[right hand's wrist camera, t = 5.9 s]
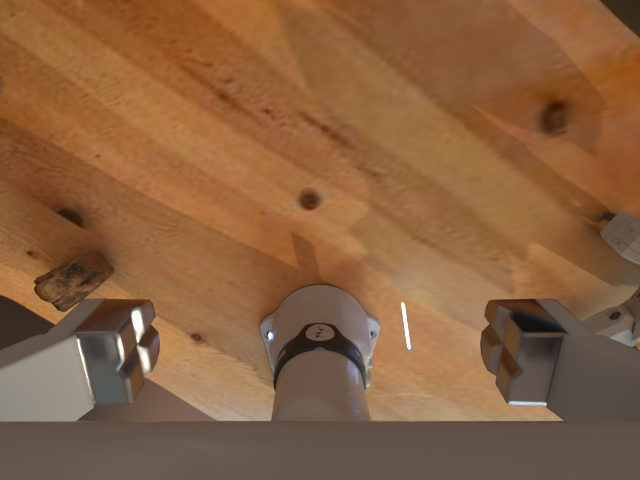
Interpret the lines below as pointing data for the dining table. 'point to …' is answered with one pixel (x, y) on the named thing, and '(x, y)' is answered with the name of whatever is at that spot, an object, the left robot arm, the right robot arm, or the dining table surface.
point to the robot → (636, 313)
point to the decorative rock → (73, 280)
